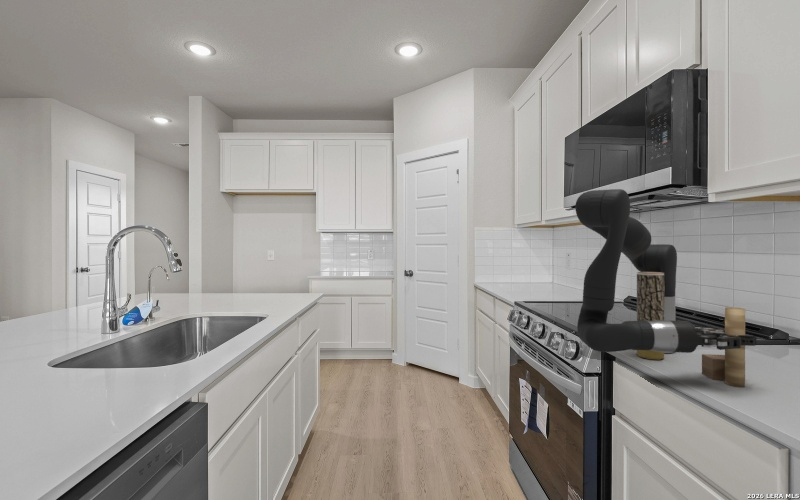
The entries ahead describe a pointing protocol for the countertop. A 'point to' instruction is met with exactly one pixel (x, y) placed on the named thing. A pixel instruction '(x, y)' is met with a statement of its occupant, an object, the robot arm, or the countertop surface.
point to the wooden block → (713, 366)
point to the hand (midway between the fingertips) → (748, 338)
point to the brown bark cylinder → (650, 304)
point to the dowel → (735, 356)
